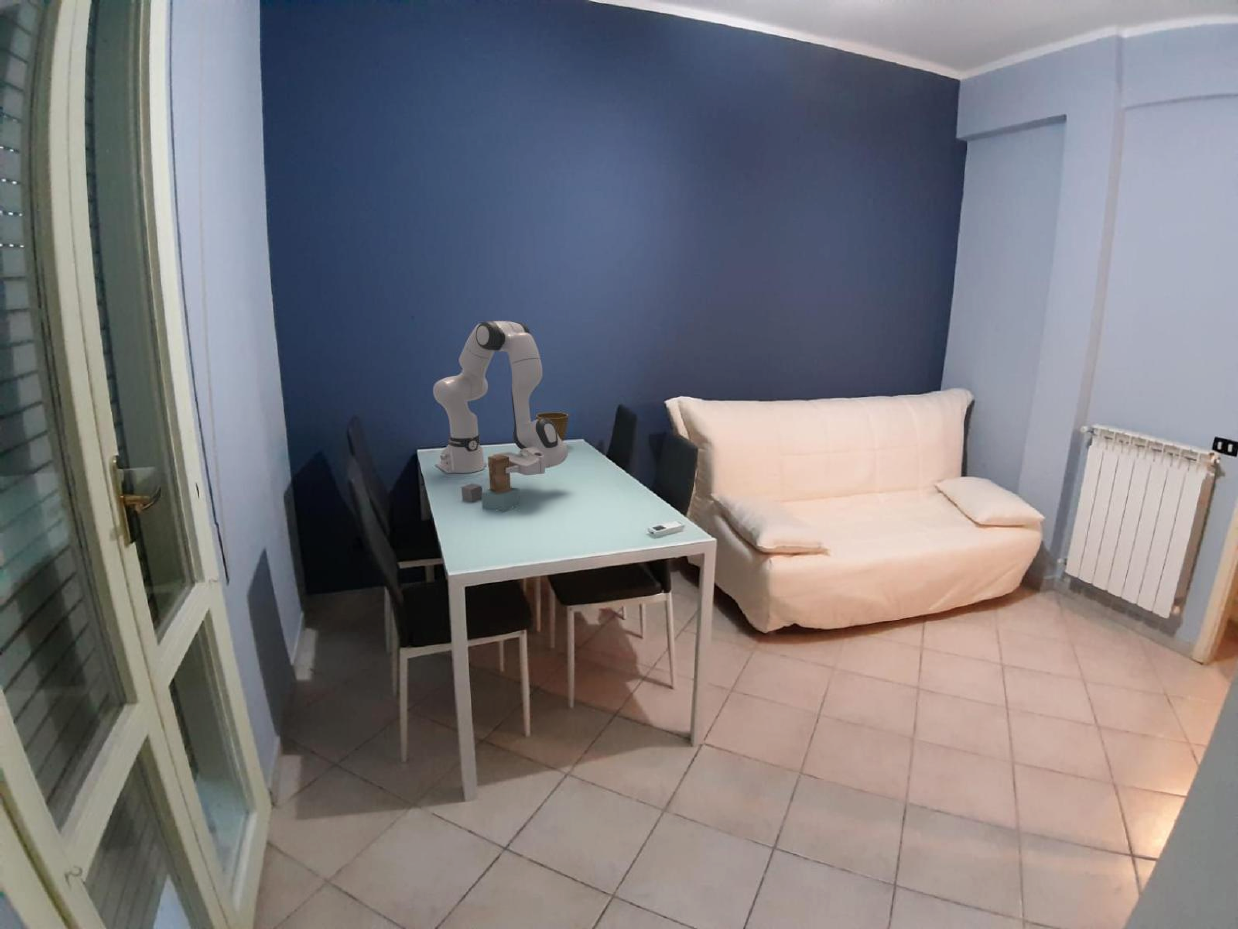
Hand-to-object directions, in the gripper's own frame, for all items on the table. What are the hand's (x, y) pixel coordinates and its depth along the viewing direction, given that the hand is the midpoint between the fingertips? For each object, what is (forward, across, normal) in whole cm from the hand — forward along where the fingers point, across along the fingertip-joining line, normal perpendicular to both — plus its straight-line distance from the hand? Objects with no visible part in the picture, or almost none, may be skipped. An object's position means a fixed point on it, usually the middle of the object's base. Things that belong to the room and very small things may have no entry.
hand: (496, 467), depth 207 cm
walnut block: (-1, 0, +8) cm, 8 cm away
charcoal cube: (+2, -13, +14) cm, 19 cm away
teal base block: (-1, 0, +14) cm, 14 cm away
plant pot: (-65, -48, +14) cm, 82 cm away
